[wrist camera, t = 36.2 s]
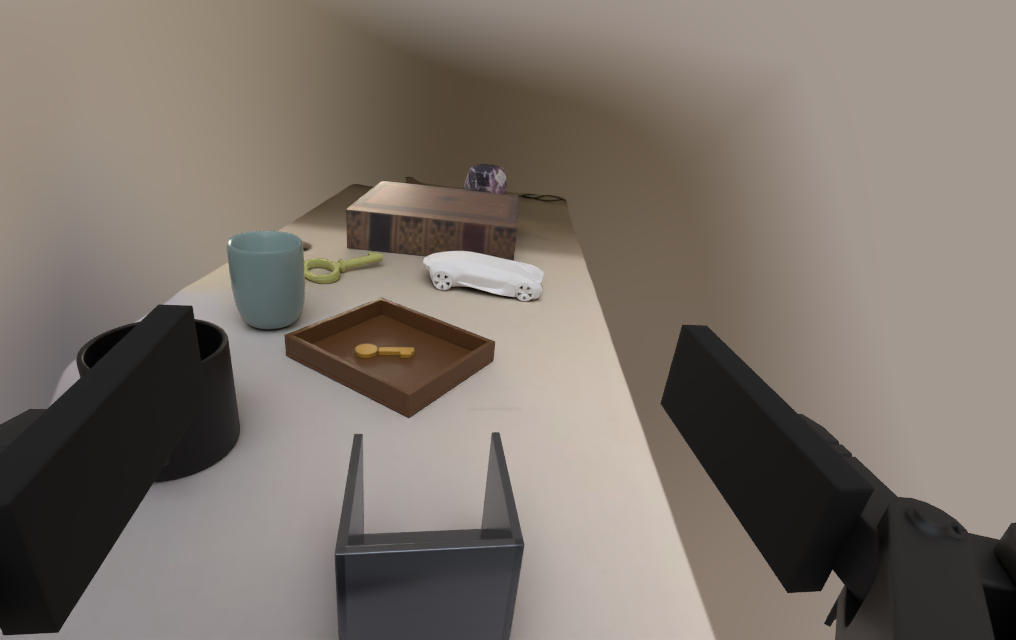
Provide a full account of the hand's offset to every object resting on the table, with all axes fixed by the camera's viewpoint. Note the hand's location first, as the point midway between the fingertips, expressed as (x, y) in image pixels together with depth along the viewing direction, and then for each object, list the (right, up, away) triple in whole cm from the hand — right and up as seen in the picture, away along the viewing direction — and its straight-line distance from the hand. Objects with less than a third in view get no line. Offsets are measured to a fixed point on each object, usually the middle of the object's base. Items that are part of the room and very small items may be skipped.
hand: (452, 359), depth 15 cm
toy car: (-2, +6, +66) cm, 67 cm away
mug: (-25, -10, +28) cm, 38 cm away
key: (-23, +8, +66) cm, 70 cm away
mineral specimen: (-4, +28, +113) cm, 117 cm away
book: (-11, +17, +87) cm, 89 cm away
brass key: (-12, -2, +44) cm, 46 cm away
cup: (-26, +1, +49) cm, 56 cm away
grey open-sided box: (-4, -16, +19) cm, 25 cm away
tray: (-11, -3, +44) cm, 46 cm away
